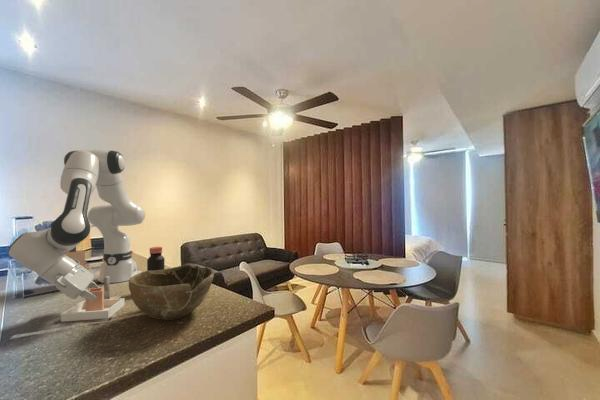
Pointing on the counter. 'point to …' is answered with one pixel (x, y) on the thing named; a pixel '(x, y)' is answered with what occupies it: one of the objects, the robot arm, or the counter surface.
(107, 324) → the counter surface
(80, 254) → the tan rectangular block
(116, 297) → the peg stand
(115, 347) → the counter surface
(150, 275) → the bowl
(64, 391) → the counter surface
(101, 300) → the sleeve
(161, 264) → the bottle
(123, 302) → the tray
